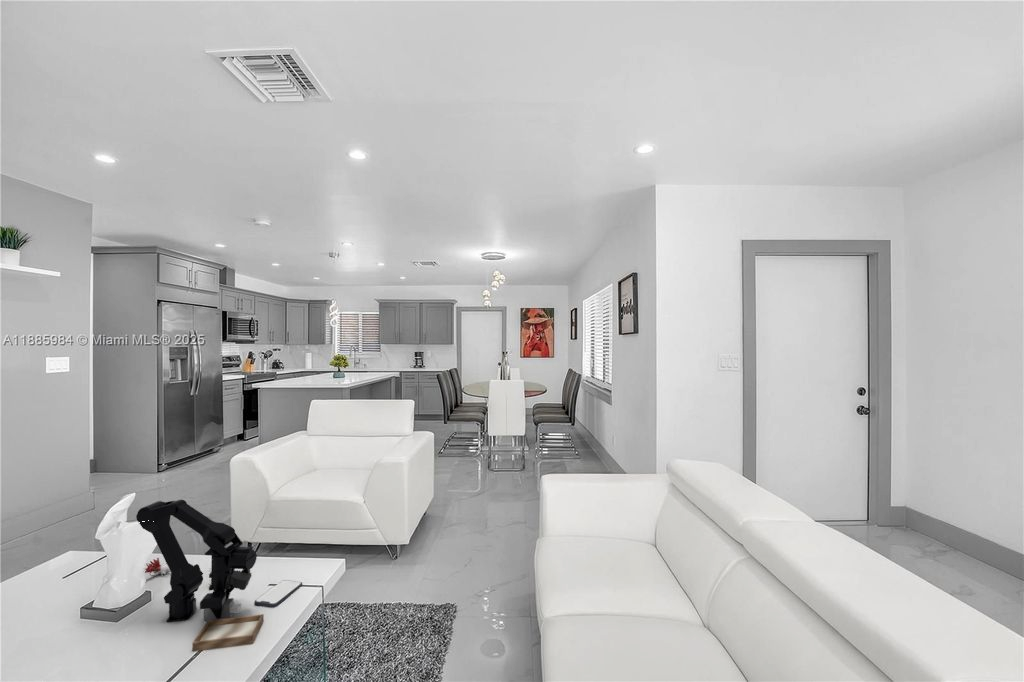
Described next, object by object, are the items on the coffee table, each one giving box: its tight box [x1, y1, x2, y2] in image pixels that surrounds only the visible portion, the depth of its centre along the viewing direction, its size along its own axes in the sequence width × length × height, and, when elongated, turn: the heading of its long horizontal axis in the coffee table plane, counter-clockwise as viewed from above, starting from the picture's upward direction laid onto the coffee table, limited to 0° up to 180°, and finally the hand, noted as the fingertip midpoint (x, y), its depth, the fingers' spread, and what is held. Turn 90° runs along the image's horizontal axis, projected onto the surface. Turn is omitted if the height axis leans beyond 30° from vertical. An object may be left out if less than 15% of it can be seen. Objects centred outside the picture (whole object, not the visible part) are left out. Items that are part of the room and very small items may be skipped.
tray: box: [191, 614, 265, 652], centre depth 145 cm, size 16×11×2 cm
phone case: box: [254, 579, 303, 609], centre depth 168 cm, size 9×2×16 cm
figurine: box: [144, 557, 171, 577], centre depth 182 cm, size 15×12×7 cm
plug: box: [203, 597, 242, 623], centre depth 154 cm, size 10×4×5 cm, turn 104°
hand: (221, 614), depth 154 cm, fingers closed on plug, 4 cm apart
